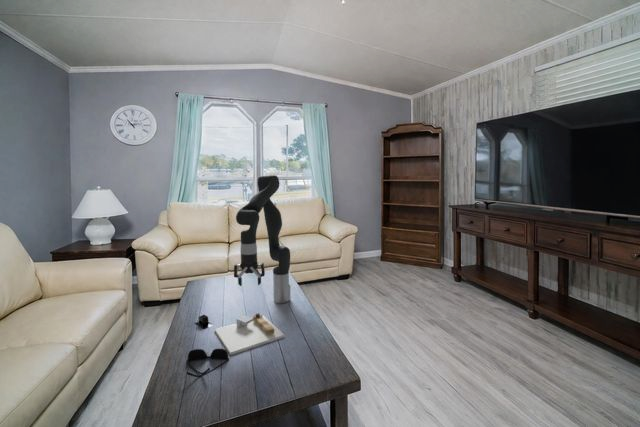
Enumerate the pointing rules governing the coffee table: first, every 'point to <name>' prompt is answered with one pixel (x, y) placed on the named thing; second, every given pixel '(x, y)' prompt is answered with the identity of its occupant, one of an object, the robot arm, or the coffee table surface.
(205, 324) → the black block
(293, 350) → the coffee table surface
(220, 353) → the sunglasses
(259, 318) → the oak link
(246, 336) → the board
